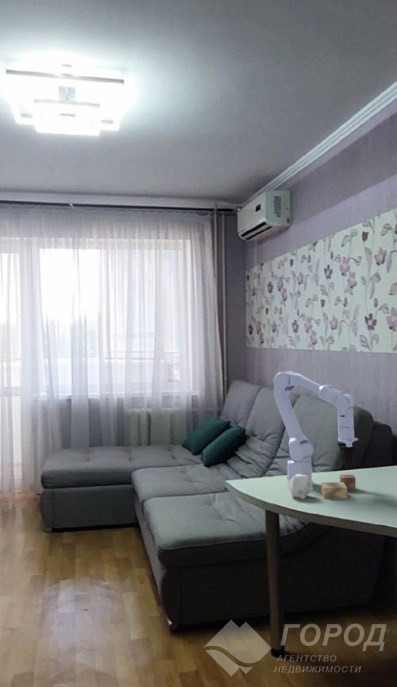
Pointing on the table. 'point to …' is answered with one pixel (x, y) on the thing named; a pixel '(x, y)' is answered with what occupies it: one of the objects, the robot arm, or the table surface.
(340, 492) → the oak block
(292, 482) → the white faceted polyhedron
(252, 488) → the table surface
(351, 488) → the walnut cube
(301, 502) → the table surface
